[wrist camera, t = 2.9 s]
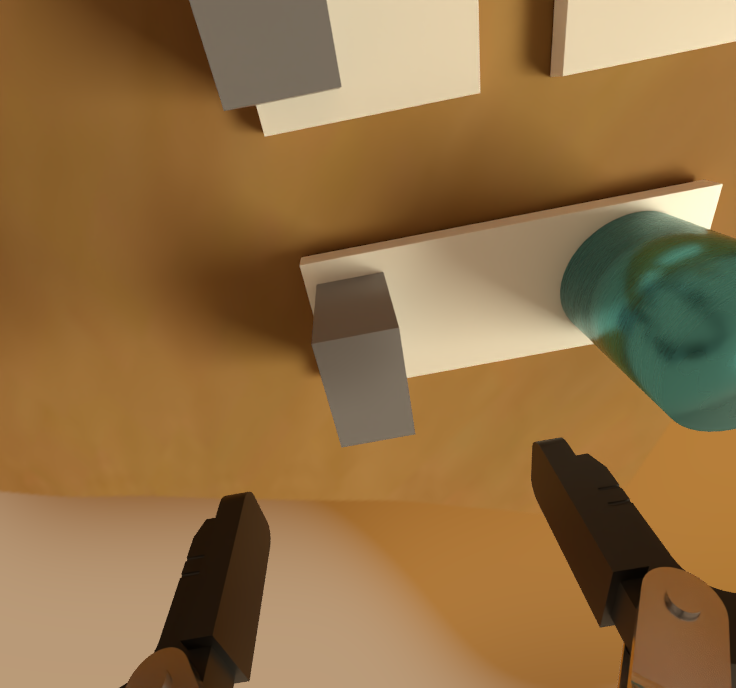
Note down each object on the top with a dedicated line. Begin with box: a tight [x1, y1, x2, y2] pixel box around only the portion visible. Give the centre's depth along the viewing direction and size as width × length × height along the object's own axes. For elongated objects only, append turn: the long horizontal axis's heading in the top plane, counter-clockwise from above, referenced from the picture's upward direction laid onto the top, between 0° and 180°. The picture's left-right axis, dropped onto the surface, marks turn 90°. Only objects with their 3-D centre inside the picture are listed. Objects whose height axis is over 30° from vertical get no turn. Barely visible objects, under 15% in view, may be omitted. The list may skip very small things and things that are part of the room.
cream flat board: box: [300, 180, 723, 447], centre depth 17 cm, size 18×7×6 cm, turn 100°
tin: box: [560, 211, 736, 432], centre depth 16 cm, size 6×6×7 cm
